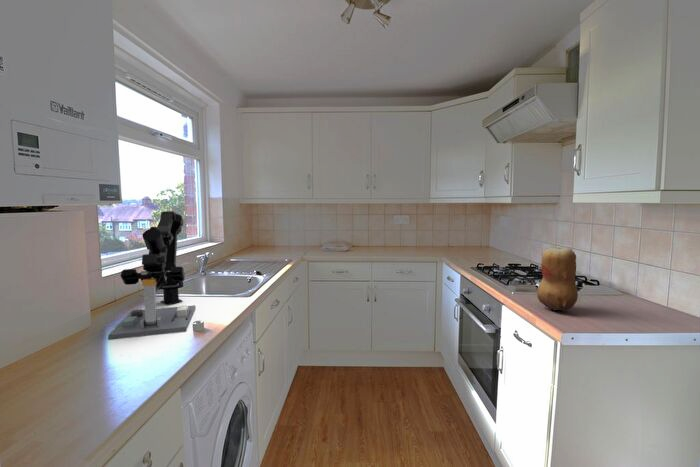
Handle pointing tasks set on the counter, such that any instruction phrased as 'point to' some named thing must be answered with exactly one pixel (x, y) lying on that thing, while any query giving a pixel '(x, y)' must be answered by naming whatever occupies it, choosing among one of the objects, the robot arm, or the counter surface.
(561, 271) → the butternut squash
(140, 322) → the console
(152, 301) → the lever
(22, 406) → the counter surface
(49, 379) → the counter surface
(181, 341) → the counter surface
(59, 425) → the counter surface
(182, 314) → the slider
